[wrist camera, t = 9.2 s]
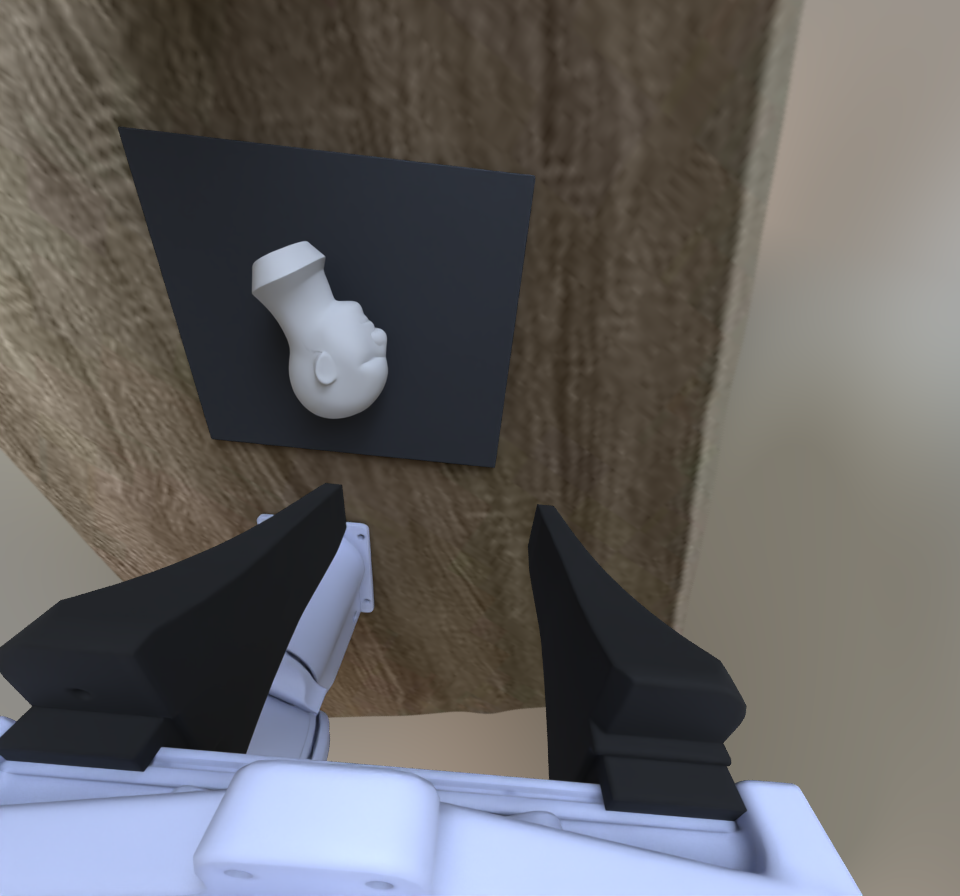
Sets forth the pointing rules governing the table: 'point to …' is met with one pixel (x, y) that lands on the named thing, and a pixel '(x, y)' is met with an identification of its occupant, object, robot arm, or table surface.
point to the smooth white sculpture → (321, 333)
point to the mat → (341, 285)
